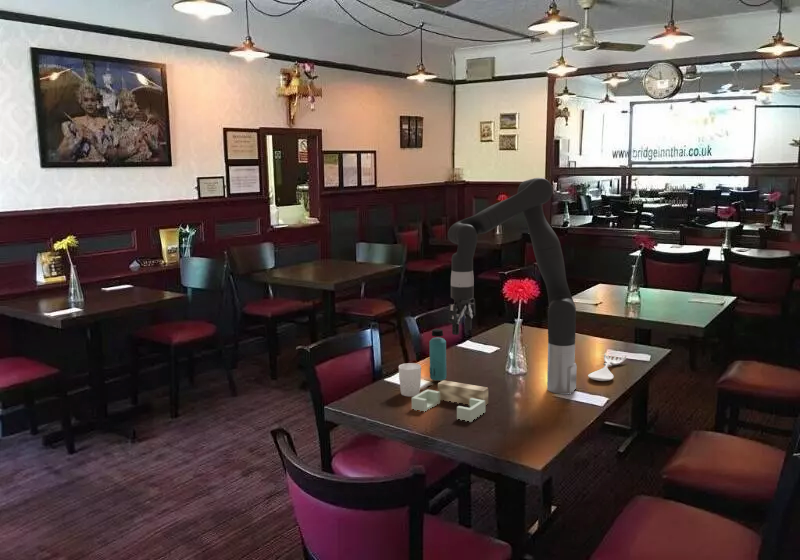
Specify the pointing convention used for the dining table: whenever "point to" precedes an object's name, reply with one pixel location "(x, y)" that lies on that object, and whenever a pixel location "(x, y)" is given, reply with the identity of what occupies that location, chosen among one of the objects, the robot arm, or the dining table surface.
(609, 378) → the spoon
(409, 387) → the white cup
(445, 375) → the beverage bottle
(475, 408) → the end cap
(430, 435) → the dining table surface
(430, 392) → the end cap
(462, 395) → the wooden block
